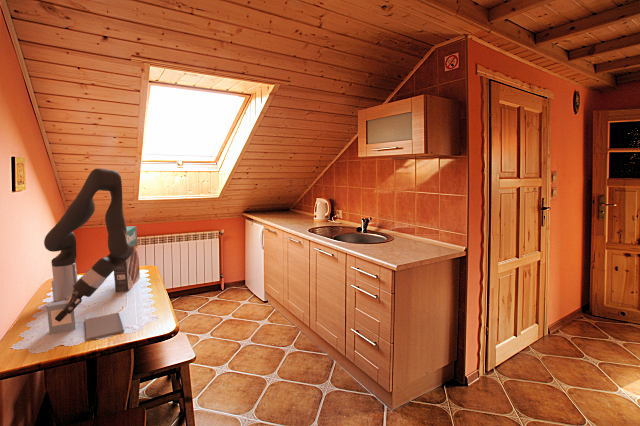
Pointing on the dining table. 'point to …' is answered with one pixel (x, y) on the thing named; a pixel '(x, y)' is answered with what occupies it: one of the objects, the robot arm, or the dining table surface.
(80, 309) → the dining table surface
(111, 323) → the slate board
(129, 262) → the cake mix box
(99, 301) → the dining table surface
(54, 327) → the slab
